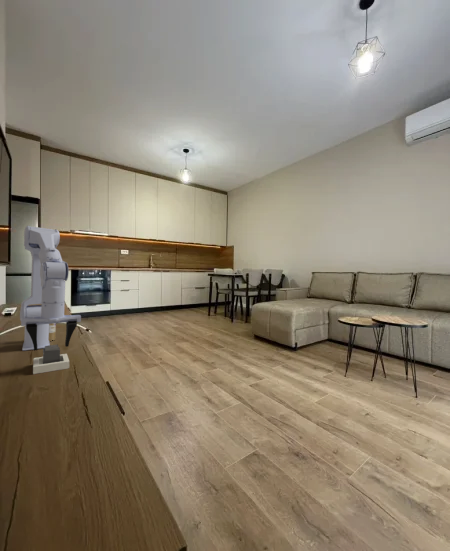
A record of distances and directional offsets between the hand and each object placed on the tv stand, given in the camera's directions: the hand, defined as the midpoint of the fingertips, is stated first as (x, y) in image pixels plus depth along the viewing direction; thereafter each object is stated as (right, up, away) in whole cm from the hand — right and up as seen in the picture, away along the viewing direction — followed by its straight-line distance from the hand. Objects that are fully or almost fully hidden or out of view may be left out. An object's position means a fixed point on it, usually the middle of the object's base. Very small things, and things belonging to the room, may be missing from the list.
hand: (51, 347), depth 75 cm
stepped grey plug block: (0, -6, 0) cm, 6 cm away
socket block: (0, -6, 0) cm, 6 cm away
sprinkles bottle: (-20, -5, +27) cm, 34 cm away
